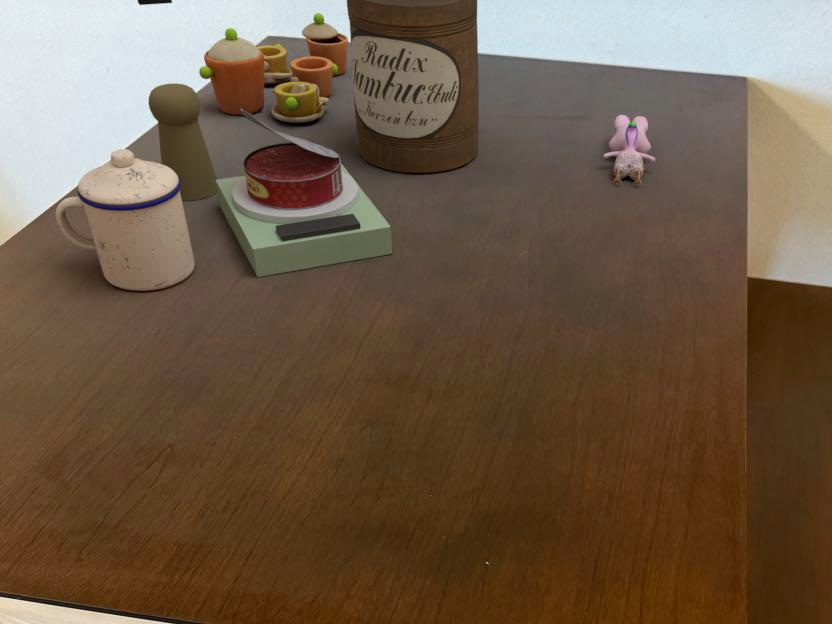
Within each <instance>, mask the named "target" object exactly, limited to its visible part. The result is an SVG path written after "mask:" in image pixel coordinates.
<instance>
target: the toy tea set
mask: <svg viewBox="0 0 832 624" xmlns="http://www.w3.org/2000/svg"><path fill="white" fill-rule="evenodd" d="M312 18H313V22H312V23H309V24H308V25H306V26H305V27H304V28H303V29H302V31H301V35H302V36H303V37H304V38H305V39H306V44H307V49H308V52H309V56H303V57H298V58H295V59H293V60H292V61H290V64H289V65H290V67H289V66H288V51H287V49H286V48H284V47H283V45H282V44H280V43H275V44H274V45H268V44H265V45H259V46H256V44H255V45H254V44H253V43H252V42H251V41H249V40H247V39H245V38H243V37H240V36H239V37H238V33H237V30H236V29H234V28H232V27H230V28H227V29H226V30H225V33H224V36H225V37H224V38H221V39H219V40H218V41H216V42H215V43H214V44H213V45H212V46H211V47H210V49H208V50H207V51H206V52H205V53H204V55H203V60H204V63H205V65H204V66H201V67H200V68H199V71H198V72H199V76H200V77H201V78H202V79H205V80H210V82H211V86H212V89H213V93H214V95H215V99H216V103H217V105H218V108H219V109H220V110H221V111H222V112H223V113H226V114H229V115H235V116H245V115H244V114H243V112H242V111H241V109H242V110H244V111H246V112H248V113H250V114H251V115H253V114H256V113H258V112H261V110H263V108H264V106H265V85H275V87H274V89H273V93H274V96H275V99H276V102H277V104H275V105H273V106H272V107H271V109H270V111H271V115H272V117H273V118H275V119H277V120H279V121H281V122H284V123H290V124H303V123H310V122H312V121H315V120H318V119H320V118H321V117H322V116H323V115H324V112H325V110H324V107H323V106H328V105H330V98H328V97H330V96H331V94H332V89H333V88H332V87H333V77H336V76H340V75H342V74H344V73H346V71H347V61H348V44H349V38H348V36H347V35H345V34H344V33H340V32H338V30H337V29H336V28H335V27H334V26H333V25H331V24H330V23H327V22H325V17H324V15H323V14H322V13H320V12H319V13H315V14H314V15H313V17H312ZM289 80H290V81H289ZM288 81H289V82H288ZM277 84H278V85H277Z"/></svg>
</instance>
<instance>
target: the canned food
mask: <svg viewBox="0 0 832 624" xmlns="http://www.w3.org/2000/svg"><path fill="white" fill-rule="evenodd" d="M241 111H242V112H243V114H244V115H243V116H245V118H246V119H248V120H249V121H250V122H252V123H254V124H256V125H257V126H260V127H261V128H263V129H265V130H268V131H271V132H273V133H274V134H276V135H277V136H280V137H281V138H284V139H285V140H287V141H289V142H281V143H273V144H270V145H266V146H262V147H258V148H257V149H255V150H253V151H251V152H250V153H248V154H247V155H246V156H245V157H244V159H243V162H242V164H243V171H244V176H245V177H246V183H247V191H248V195H249V196H250V198H251V199H252V200H253V201H255V202H256V203H258V204H260V205H263V206H266V207H270V208H275V209H283V210H300V209H309V208H314V207H318V206H322V205H325V204H327V203H330V202H332V201H333V200H335V199H336V198H338V197H339V196H340V195H341V193H342V191H343V183H342V172H341V164H342V159H341V156H340V154H338V152H336V151H335V150H334V149H332V148H329V147H328V146H324V145H321V144H318V143H314V142H311V141H308V140H306V139H304V138H300V137H295V136H292V135H289V134H288V133H284V132H281V131H277V130H274V129H272V128H271V127H269V126H268V125H266V124H265V123H263V122H262V121H261V120H260V119H258V118H257V117H256V116H254V115H253V114H250V113H248V112H246V111H244V110H242V109H241Z"/></svg>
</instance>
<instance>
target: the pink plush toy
mask: <svg viewBox="0 0 832 624" xmlns="http://www.w3.org/2000/svg"><path fill="white" fill-rule="evenodd" d="M613 127H614V131H615V134H614V135H613V137H612V138H611V139H610V140H609V142H608V148H609V150H610V152H607V153H606V152H605V153H604V154H603V155H602V156H603V158H604V159H608V158H610V157H613V158H614V157H615V161H614V162H613V163H614V164H613V169H612V171H613V176H614V177H615V178H614V179H613V183H615V182H616V183H615V185H616V184H617V185H618V182H620V184H622V183H623V182H622V179H624V178H625V177H628V178H630V179H632V180H633V181H634V182H633V184H635V183H636V184H642V180H641V178H642V177H643V174H644V160H648V161H649V162H651V163H655V161H656V158H655V157H654V156H652V155H650V154H648V153H649V152H650V151H651V148H652V147H651V143H650V141H649V140H648V138H647V135H646V133H647V131H648V129H649V122H648V119H647V118H646V117H645V116H642V115H638V116H635V117H634V118H633V120H632V121H630V117H628V116H627V115H625V114H619V115H617V116H616V118H615V120H614V124H613Z"/></svg>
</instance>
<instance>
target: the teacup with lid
mask: <svg viewBox="0 0 832 624" xmlns="http://www.w3.org/2000/svg"><path fill="white" fill-rule="evenodd" d="M180 188H181V182H180V179H179V178H178V176H177V174H176V173H175V172H174V171H173V170H172V169H171V168H169V167H167V166H165V165H163V164H161V163H159V162H155V161H150V160H149V161H148V160H144V159H140V158H136V157H135V154H134V153H133V152H132V150H129V149H125V148H122V149H121V148H120V149H116V150H113V151H112V152H111V154H110V160H109V161H107V162H105V163H104V164H103V165H100V166H98V167H95V168H93V169H91V170H89V171H87V173H85V174H84V175H83V176H82V177H81V178H80V180H79V181H78V184H77V196H69V197H66V198H64V199H63V200H61V201H60V202H59V203H58V205H57V207H56V208H55V220H56V223H57V226H58V228H59V229H60V231H61V232H62V233H63V235H64V236H65V237H66V238H67V239H68V240H69V241H70V242H71V243H72V244H74V245H76V246H78V247H79V248H83V249H87V250H91V251H92V250H95V251H96V253H97V256H98V260H99V265H100V267H101V271H102V274H103V277H104V278H105V280H106V281H107V282H108V283H109V284H111V285H112V286H115V287H117V288H119V289H122V290H127V291H134V292H135V291H136V292H147V291H158V290H162V289H166V288H169V287H172V286H174V285H177V284H179V283H182V282H183V281H184V280H186V279H187V278H188V277H189V276H190V275H192V273H193V272H194V269H195V266H196V265H195V264H196V262H195V257H194V252H193V248H192V243H191V238H190V233H189V228H188V223H187V219H186V214H185V209H184V205H183V200H182V199H181V194H180ZM71 208H84V210H85V214H86V218H87V221H88V225H89V229H90V232H91V235H92V238H88V237H85V236H83V235H81V234H79V233H78V232H77V231H76V230H75V229H74V228H73V226H71V224H70V222H69V221H68V219H67V215H66V210H67V209H71Z"/></svg>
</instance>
